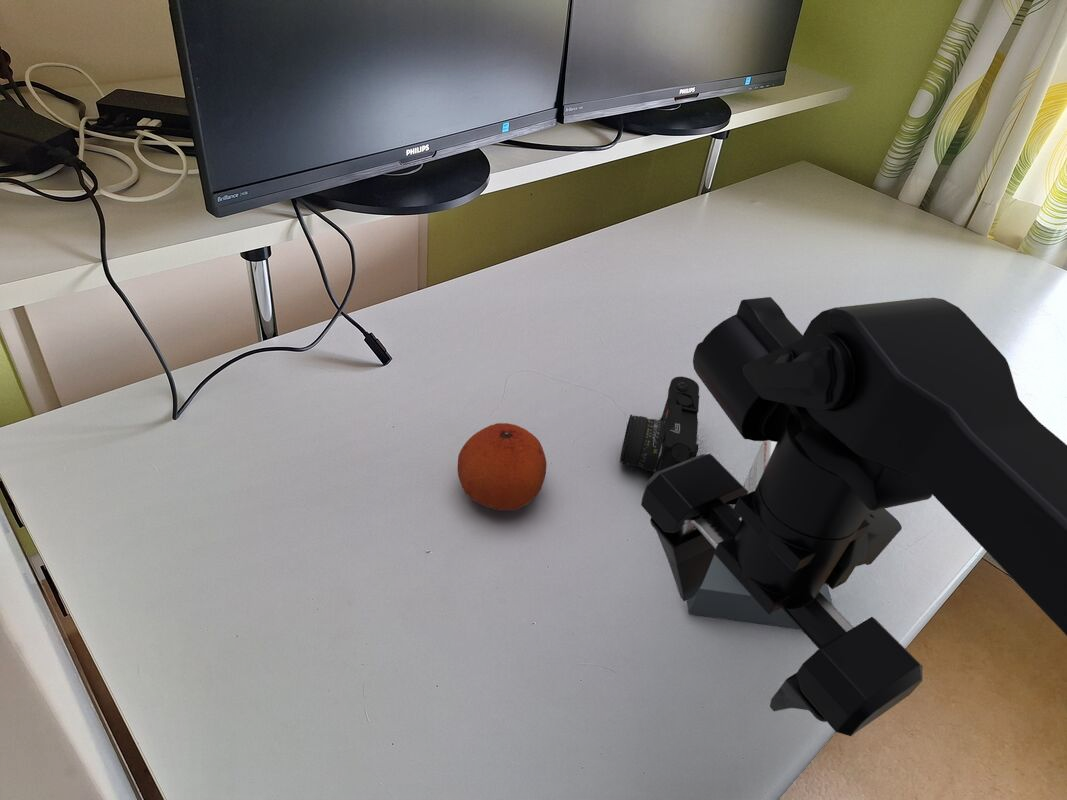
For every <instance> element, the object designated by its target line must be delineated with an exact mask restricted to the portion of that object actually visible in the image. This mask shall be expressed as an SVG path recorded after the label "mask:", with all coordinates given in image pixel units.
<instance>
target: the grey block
mask: <svg viewBox="0 0 1067 800" xmlns="http://www.w3.org/2000/svg"><path fill="white" fill-rule="evenodd" d="M729 505H730V506H731V507H732V508H733V507H734V504H729ZM819 592H820V593H821V594H822V595H823V596H824V597H825V598H826V599H827V600H828V601H829V602H830V603H831V604H832V605H833V601H832V597H831V593H830V587H829V586H828V585H827V584H824V585H823V586H822V588H821V590H820V591H819ZM686 603H687V613H688V615H695V616H703V617H708V618H709V617H710V618H716V619H724V620H732V621H738V622H745V623H753V624H761V625H767V626H768V625H769V626H775V627H776V626H777V627H783V628H789V629H798V630H801V629H800V628H799V626H798V625H797V624H796V623H795V622H794V621H793V620H792V619H791V618H790V617H789V615H788V614H787V613H786V612H785V611H784V610H783V609H782V608H781V609H779V610H777V611H775V612H773V613H772V614H770V615H768V614H767V612H766V611H765V610H764V609H763V608H762V607H761V606H760V605H759V604H758V602H757V601H756V600H755V599H754V598H753V597H752V596H751V595H750V593H749V592H748V591H747V590H746V589H745V588H744V587H743V586H742V584H741V583H740V582H739V581H738V580H737V579H736V578H735V577H734V575H733V574H732V573H731V572H730V571H729V570H728V569H727V568H726V567H725V565H724V564H723V563H722V562H721V561H720V560H719V559H718V558H717V556H716V555H714V557H713V559H712V562H711V564H710V567H709V569H708V572H707V574H706V576H705V579H704V581H703V583H702V585H701V587H700V589H699V590H698V592H697V593H696V595H695V596H694V597H693V598H691V599H689V600H687V601H686ZM833 606H834V605H833Z"/></svg>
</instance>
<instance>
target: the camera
mask: <svg viewBox="0 0 1067 800" xmlns="http://www.w3.org/2000/svg"><path fill="white" fill-rule="evenodd" d="M669 383H670V384H669V387H668V390H667V398H666V401H665V404H664V407H663V411H662V415H661V417H660V419H656V418H655V419H653V418H648V417H646V416H642V415H640V416H639V415H633V414H630V415H629V418H628V421H627V424H626V427H625V428H626V429H625V432H624V436H623V437H624V438H623V441H622V446H621V452H620V457H619V463H622V464H623V465H627V466H631V467H634V468H637V467H640V468H642V469H643V470H648V471H651V472H653V474H652V476H653V475H654V474H655V473H656V472H658V471H661V470H663V469H666V468H668V467H671V466H674V465H676V464H679V463H681V462H684V461H686V460H689V459H691V458H694V457H696V456H698V452H699V444H698V443H697V442H698V428H699V421H698V420H699V418H698V413H699V407H700V406H699V405H700V386H699V384H698V382H696V381H695V380H694V379H692V378H690V377H687V376H675V377H673V378H672V379H671V380H670V382H669Z"/></svg>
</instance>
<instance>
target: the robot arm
mask: <svg viewBox="0 0 1067 800" xmlns="http://www.w3.org/2000/svg"><path fill="white" fill-rule="evenodd" d="M692 358H693V359H692V364H693V370H694V371H695V374H696V375H697V376H698V378H699V379H700V381H701V382H702V383H703V385H704V386H705V387H706V389H707V390H708V391H709V393H710V394H711V395H712V397H713V399H714V400H715V402H716V403H717V404H718V405H719V407H720V408H721V409H722V411H723V412H724V414H725V415H726V416H727V417H728V419H729V420H730V421H731V423H732V425H733V426H734V427H735V429H736V430H737V431H738V433H739V434H740V435H741V437H742V438H743V439H744V440H749V441H752V442H763V441H767V440H770V441H774V442H777V444H776V446H775V448H774V450H773V453H772V455H771V457H770V459H769V461H768V463H767V466H766V468H765V470H764V472H763V474H762V476H761V479H760V481H759V483H758V485H757V487H756V489H755V491H753V492H751V493H748V492H749V491H748V490H747V489H746V488H745V487H744V486H743V485H744V484H742V483H741V482H740V481H739V480H738V479H737V478H736V477H735V476H734V475H733V474H732V473H731V472H730V471H729V470H728V469H727V468H726V467H725V466H723V464H722V463H721V462H720V461H719V460H718V459H717V458H716V457H714V455H712V454H711V453H706V454H698V455H696V457H693V458H691V459H689V460H686V461H684V462H681V463H679V464H676V465H674V466H671V467H668V468H666V469H663V470H661V471H658V472H656V473H655V474H654V475H653V474H652V476H651V477H650V478H649V479H648V480H647V481H646V484H645V488H644V491H643V494H642V497H641V503H640V506H641V507H642V508H643V509H644V510H645V512H646V513H647V514H648V515H649V516H650V525H651V527H652V528H653V529H654V530H655V532H656V534H657V537H658V539H659V541H660V544H661V546H662V549H663V551H664V554H665V556H666V559H667V561H668V565H669V568H670V570H671V574H672V575H673V579H674V582H675V585H676V588H677V591H678V594H679V597H680V599H681V600H682V601H683V602H687V600H689V599H691V598H693V597H694V596H695V595H696V593H697V592H698V590H699V589H700V587H701V585H702V583H703V581H704V579H705V576H706V574H707V572H708V569H709V567H710V564H711V562H712V559H713V557H714V555H716V556H717V558H718V559H719V560H720V561H721V562H722V563H723V564H724V565H725V567H726V568H727V569H728V570H729V571H730V572H731V573H732V574H733V575H734V577H735V578H736V579H737V580H738V581H739V582H740V583H741V584H742V586H743V587H744V588H745V589H746V590H747V591H748V592H749V593H750V595H751V596H752V597H753V598H754V599H755V600H756V601H757V602H758V604H759V605H760V606H761V607H762V608H763V609H764V610H765V611H766V612H767V614H768V615H770V614H772V613H773V612H775V611H777V610H779V609H781V608H782V609H783V610H784V611H785V612H786V613H787V614H788V615H789V617H790V618H791V619H792V620H793V621H794V622H795V623H796V624H797V625H798V626H799V628H800V629H799V630H801V631H802V632H803V633H804V635H806V637H807V638H808V639H810V641H811V642H812V643H813V644H814V645H815V647H816V648H817V650H816V651H815V652H814V653H812V655H810V656H809V657H808V658H807V659H806V660H805V661H804V662H803V663H802V664H801V665H800V666H799V668H798V670H797V671H796V672H795V673H793V674H792V675H790V676H789V677H787V678H786V679H785V680H784V681H783V683H782V684H781V685H780V687H779V688H778V690H776V692H775V694H774V695H773V696H772V697H771V699H770V703H769V708H770V710H772V712H777V711H778V712H779V711H784V710H787V709H788V710H789V709H797V710H803V711H808V712H809V713H811V714H812V716H813V717H814V718H815V719H816V720H818V721H819V722H821V723H827V724H828V725H829V726H830V727H831V728H832V730H833V731H834V732H835V733H837V734H841V735H844V736H848V737H852V736H854V735H855V734H856V733H858V732H859V731H861V730H862V729H864V728H865V727H867V726H868V725H869V724H870V723H873V721H875V720H876V719H878V718H879V717H881V716H882V715H883V714H885V713H886V712H888V711H889V710H891V709H892V708H893V707H895V706H896V705H898V704H900V703H901V702H902V701H903V700H905V699H906V698H907V697H909V696H910V695H911V694H913V692H914V691H915V690H916V689H917V688H918V686H920V684H921V683H922V682H923V665H922V664H921V663H920V662H919V661H918V660H917V659H916V657H914V656H913V655H912V654H911V653H910V652H909V650H907V649H906V648H905V646H903V645H902V644H901V642H899V641H898V640H897V638H895V636H893V634H891V633H890V632H889V630H887V629H886V628H885V627H884V626H883V624H881V623H880V621H878V620H877V619H876V618H875V617H873V616H871V617H869V618H867V619H866V620H864V621H862V622H860V623H859V624H857V625H855V626H853V625H852V624H851V623H850V621H848V619H846V617H845V616H844V615H843V614H842V613H841V612H840V611H839V610H838V609H837V608H836V607H835V606H834V605H832V604H833V603H832V604H831V603H830V602H829V601H828V600H827V599H826V598H825V597H824V596H823V595H822V594H821V593H820V592H819V591H820V590H821V588H822V586H823V585H824V584H827V585H828V588H829V589H831V590H834V589H836V588H838V587H839V586H841V585H843V584H845V583H847V581H848V580H849V578H850V576H851V575H852V574H853V572H854V570H855V568H857V567H860V566H863V565H866V566H869V565H872V564H873V563H874V561H876V559H877V558H878V557H879V555H880V554H882V552H883V551H884V550H885V549H886V548H887V546H889V544H890V543H891V542H892V541H893V539H895V537H896V536H897V535H898V534H899V533H900V532H901V531H902V529H903V528H902V527H903V526H902V524H901V523H900V521H899V520H898V519H897V518H896V517H895V515H893V514H892V513H890V511H888V510H887V509H889V508H893V507H894V508H895V507H899V506H903V505H909V504H912V503H917V502H922V501H927V500H929V499H931V498H932V497H934V498H935V499H936V500H937V501H938V502H939V503H940V504H941V505H942V507H944V509H945V510H946V511H948V513H949V514H950V515H951V516H952V517H953V518H954V519H955V520H956V521H957V522H958V524H960V525H961V526H962V527H963V528H964V530H966V532H967V533H968V534H969V535H971V537H972V538H973V539H974V540H975V542H977V543H978V544H979V545H980V547H982V549H983V550H985V552H986V553H987V554H988V555H989V556H990V557H991V558H992V559H993V560H994V561H995V562H996V563H997V564H998V565H999V566H1000V568H1001V569H1002V570H1003V571H1004V572H1006V574H1007V575H1008V576H1009V577H1010V578H1011V579H1012V580H1013V581H1014V582H1015V583H1016V584H1017V585H1018V587H1019V588H1021V590H1023V592H1024V593H1025V594H1026V595H1027V596H1028V597H1029V598H1030V599H1031V600H1032V601H1033V603H1035V604H1036V606H1037V607H1038V608H1039V609H1040V610H1042V612H1043V613H1044V614H1045V615H1046V616H1047V617H1048V618H1049V619H1050V620H1051V621H1052V622H1053V624H1055V626H1056V627H1057V628H1058V629H1059V630H1060V631H1061V632H1062V633H1063V634H1064V635H1065V636H1066V637H1067V444H1066V443H1065V441H1063V440H1062V439H1060V438H1059V437H1058V436H1057V435H1056V434H1055V433H1053V432H1052V430H1050V429H1048V428H1047V427H1046V425H1044V424H1042V423H1041V422H1040V421H1039V420H1038V419H1037V418H1036V416H1035V415H1034V414H1033V413H1032V412H1031V411H1030V410H1029V408H1027V406H1026V405H1025V404H1024V403H1023V402H1022V400H1021V399H1020V398H1019V395H1018V394H1019V393H1018V391H1017V387H1016V384H1015V381H1014V378H1013V374H1012V370H1011V368H1010V364H1009V362H1008V360H1007V359H1006V357H1005V356H1004V355H1003V353H1002V352H1001V351H1000V350H999V349H998V348H997V347H996V346H995V345H994V344H993V342H991V340H990V339H989V338H988V337H987V335H986V334H985V333H984V332H983V331H982V330H981V329H980V328H979V327H978V326H977V325H976V324H975V323H974V321H972V319H971V318H970V317H969V316H968V315H967V314H966V313H965V311H963V310H962V309H961V308H960V307H959V306H957V305H955V304H953V303H951V302H949V301H947V300H946V299H944V298H938V297H921V298H911V299H901V300H893V301H884V302H883V301H882V302H874V303H865V304H856V305H847V306H838V307H837V306H836V307H833V308H828V309H825V310H822V311H821V312H820V313H818V314H817V315H816V316H815V317H814V318H812V319H811V320H810V322H809V323H808V325H807V327H806V329H805V330H804V332H803V334H802V333H801V332H800V330H799V329H798V328H796V326H795V325H794V324H793V323H792V322H791V321H790V319H788V317H787V316H786V314H785V312H784V311H783V309H782V308H781V306H780V305H779V304H778V303H777V302H776V301H775V299H773V298H772V297H771V296H766V297H756V298H748V299H746V298H745V299H742V300H741V301H740V302H739V306H738V309H737V311H736V314H734V315H731V316H730V317H728V318H726V319H724V320H722V321H721V322H720V323H719V324H717V325H716V326H715V327H713V328H712V329H711V330H710V331H709V332H708V333H707V334H706V335H705V337H704V338H703V339H702V341H701V342H699V343H697V345H696V347H695V350H694V352H693V357H692ZM729 504H735V507H734V509H733V508H732V507H731V506H730V505H729ZM740 517H741V518H742V520H741V521H740V520H739V519H740Z"/></svg>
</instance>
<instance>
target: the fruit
mask: <svg viewBox="0 0 1067 800" xmlns="http://www.w3.org/2000/svg"><path fill="white" fill-rule="evenodd" d="M546 474H547V459H546V454H545V451H544V449H543V446H542V444H541V442H540V440H539V439H538V438H537V436H535V435H534V434H533V433H531V432H530V431H529V430H528V429H526V428H524V427H522V426H520V425H517V424H513V423H509V422H498V423H497V422H496V423H494V424H490V425H488V426H486V427H483V428H482V429H480V430H479V431H476V432H475V433H474V434H473V435H472V436H470V437H469V438H468V440H466V441H465V443H464V445H463V446H462V447H461V448H460V451H459V453H458V456H457V478H458V480H459V483H460V485H461V488H462V489H463V491H464V493H465V494H466V495H467V496H468V497H469V498H470V499H472V500H473V501H474V502H475V503H478V504H479V505H481V506H483V507H486V508H488V509H492V510H497V511H517V510H519V509H522V508H524V507H525V506H527V505H528V504H530V503H531V502H532V501H533V500H534V499H535V498H536V497H537V496H538V495H539V494H540V492H541V490H542V488H543V485H544V482H545V478H546Z"/></svg>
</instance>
